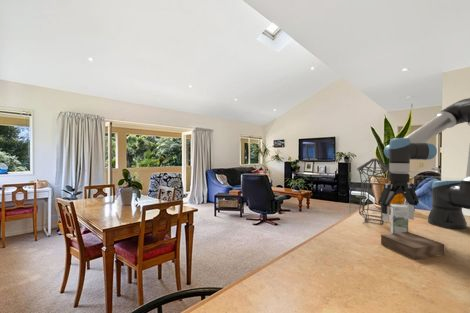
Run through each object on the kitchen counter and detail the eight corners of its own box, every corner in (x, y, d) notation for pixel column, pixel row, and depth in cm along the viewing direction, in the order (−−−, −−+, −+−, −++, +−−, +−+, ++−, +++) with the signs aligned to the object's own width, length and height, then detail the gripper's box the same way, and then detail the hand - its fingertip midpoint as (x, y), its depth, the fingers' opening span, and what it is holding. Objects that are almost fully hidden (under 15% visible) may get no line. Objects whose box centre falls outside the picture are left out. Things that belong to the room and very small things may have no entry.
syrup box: (405, 235, 106) (405, 203, 105) (408, 240, 100) (408, 206, 100) (390, 233, 108) (390, 202, 108) (392, 238, 103) (392, 205, 102)
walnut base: (408, 241, 99) (408, 231, 99) (444, 255, 85) (444, 244, 85) (381, 244, 96) (381, 234, 96) (414, 259, 82) (414, 248, 82)
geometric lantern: (392, 221, 128) (393, 158, 127) (388, 228, 116) (389, 159, 115) (361, 215, 138) (361, 157, 137) (354, 222, 127) (355, 158, 125)
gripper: (412, 171, 110) (412, 216, 111) (369, 172, 104) (368, 219, 105) (429, 173, 103) (428, 220, 103) (383, 173, 97) (382, 224, 97)
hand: (398, 220), depth 104 cm, fingers open, 13 cm apart
